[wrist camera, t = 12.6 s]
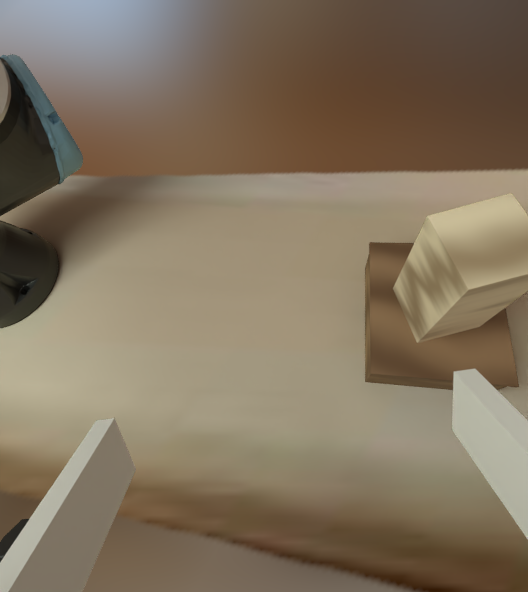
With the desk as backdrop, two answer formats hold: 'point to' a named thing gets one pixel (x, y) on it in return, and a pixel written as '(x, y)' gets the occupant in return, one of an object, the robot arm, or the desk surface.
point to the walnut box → (432, 353)
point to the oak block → (464, 267)
